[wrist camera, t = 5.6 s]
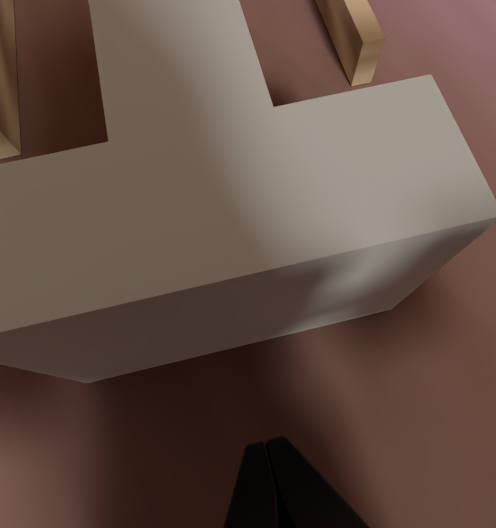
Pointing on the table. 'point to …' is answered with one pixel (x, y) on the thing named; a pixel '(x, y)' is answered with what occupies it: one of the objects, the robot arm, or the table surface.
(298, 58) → the table surface
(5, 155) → the birch bay
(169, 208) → the t block
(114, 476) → the table surface
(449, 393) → the table surface
